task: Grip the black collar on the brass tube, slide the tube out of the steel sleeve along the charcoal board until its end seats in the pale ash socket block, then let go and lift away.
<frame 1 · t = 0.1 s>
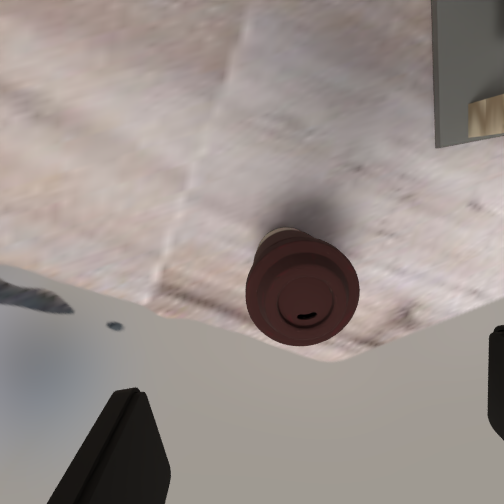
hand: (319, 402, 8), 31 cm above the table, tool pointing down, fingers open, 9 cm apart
socket: (491, 116, 36), resting on board
coffee cup: (284, 254, 40), on the table
board: (493, 1, 33), on the table
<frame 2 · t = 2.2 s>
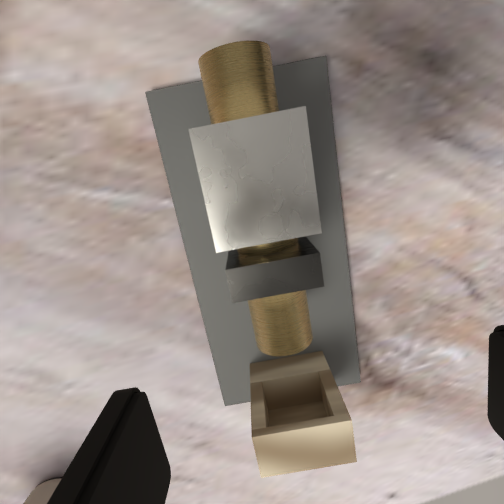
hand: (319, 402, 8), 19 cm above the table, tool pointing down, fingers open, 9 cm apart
sleeve: (253, 177, 25), resting on board
socket: (287, 367, 30), resting on board
tube: (262, 215, 19), point 6 cm above the table, slide at 0.0 cm
coffee cup: (67, 499, 34), on the table
board: (267, 253, 27), on the table
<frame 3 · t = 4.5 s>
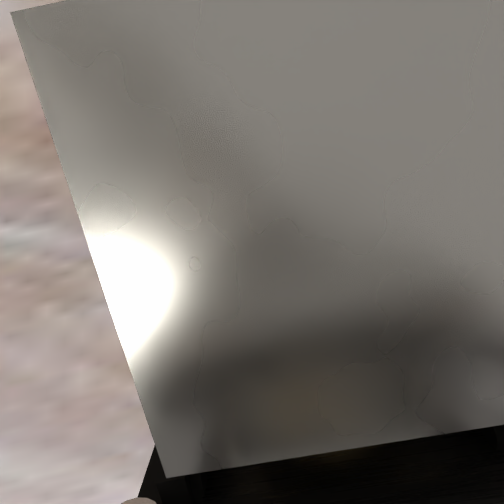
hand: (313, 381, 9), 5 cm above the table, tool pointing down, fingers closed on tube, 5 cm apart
sleeve: (271, 194, 13), resting on board
tube: (307, 310, 7), point 6 cm above the table, slide at 0.0 cm, touching gripper
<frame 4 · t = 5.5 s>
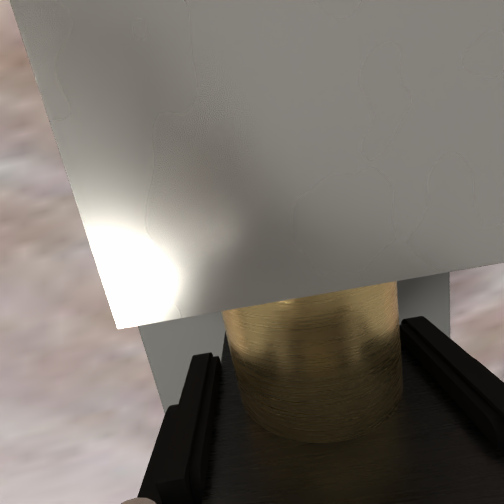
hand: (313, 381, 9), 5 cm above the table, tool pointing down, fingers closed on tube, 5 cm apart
sleeve: (261, 125, 12), resting on board
tube: (307, 309, 7), point 6 cm above the table, slide at 2.7 cm, touching gripper
board: (286, 281, 14), on the table
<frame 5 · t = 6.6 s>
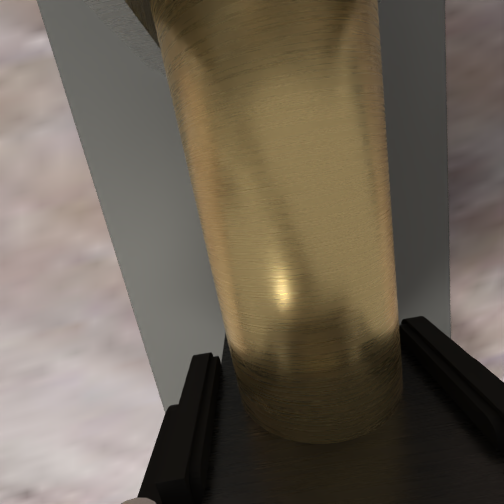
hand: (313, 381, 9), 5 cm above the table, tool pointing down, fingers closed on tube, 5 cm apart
tube: (307, 309, 7), point 6 cm above the table, slide at 7.6 cm, touching gripper
board: (267, 168, 12), on the table
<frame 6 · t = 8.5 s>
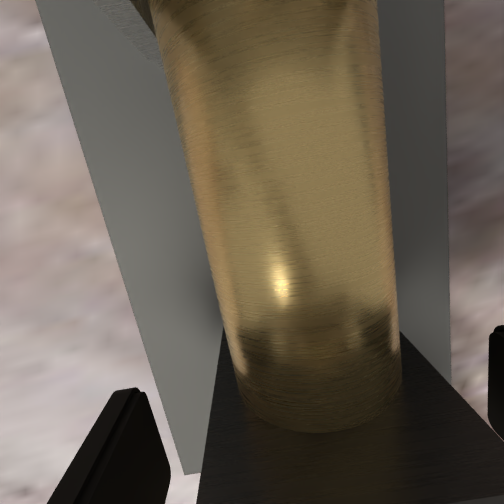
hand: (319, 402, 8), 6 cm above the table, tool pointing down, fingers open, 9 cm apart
tube: (305, 299, 7), point 6 cm above the table, slide at 7.5 cm
board: (266, 162, 12), on the table
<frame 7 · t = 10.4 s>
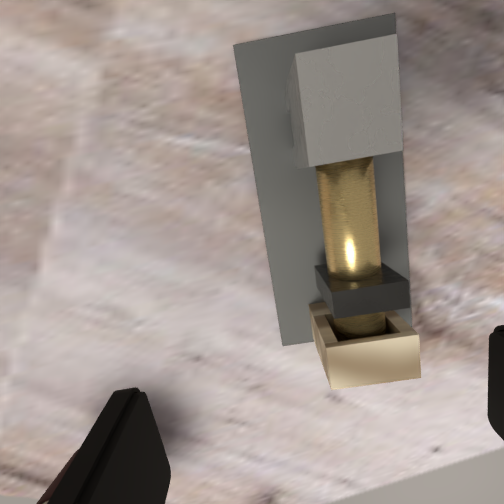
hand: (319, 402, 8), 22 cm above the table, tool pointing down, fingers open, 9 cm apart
sleeve: (321, 126, 27), resting on board
socket: (341, 311, 32), resting on board
tube: (352, 247, 24), point 6 cm above the table, slide at 7.5 cm
coffee cup: (127, 437, 36), on the table
board: (329, 199, 29), on the table
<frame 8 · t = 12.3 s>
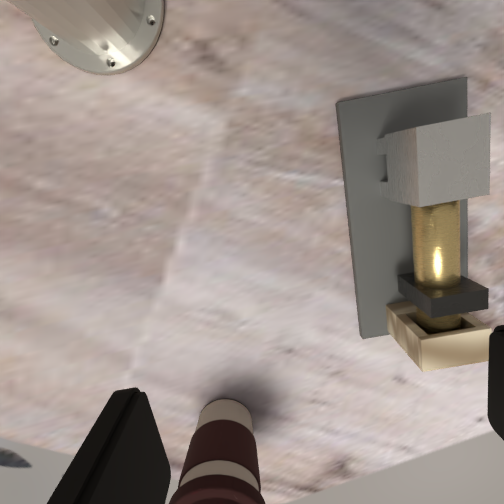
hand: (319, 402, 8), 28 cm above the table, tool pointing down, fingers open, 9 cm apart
sleeve: (401, 163, 34), resting on board
socket: (409, 309, 39), resting on board
tube: (437, 262, 31), point 6 cm above the table, slide at 7.5 cm
coffee cup: (225, 418, 43), on the table
board: (404, 220, 36), on the table
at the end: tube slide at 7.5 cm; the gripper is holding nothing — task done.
